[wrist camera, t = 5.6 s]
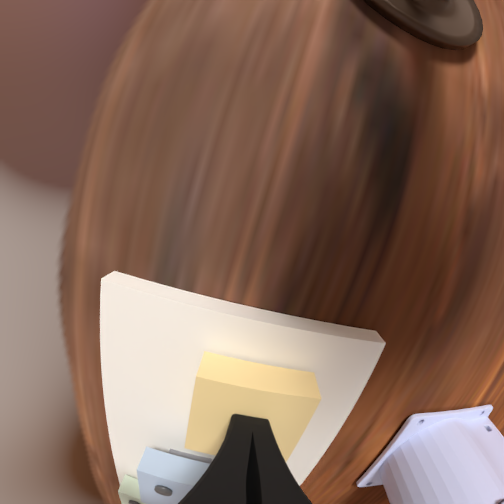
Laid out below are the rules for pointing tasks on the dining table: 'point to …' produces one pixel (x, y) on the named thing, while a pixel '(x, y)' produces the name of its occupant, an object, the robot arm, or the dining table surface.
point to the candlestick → (434, 20)
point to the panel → (222, 343)
